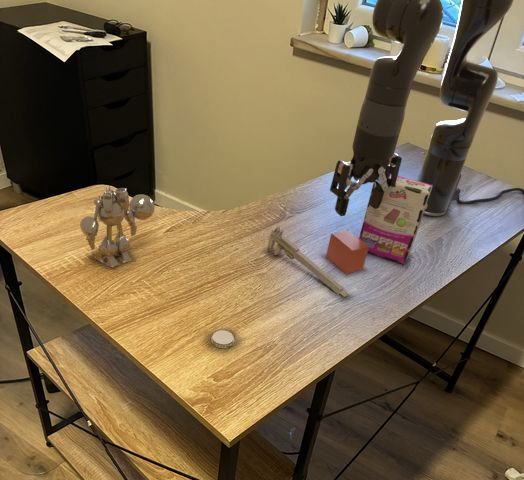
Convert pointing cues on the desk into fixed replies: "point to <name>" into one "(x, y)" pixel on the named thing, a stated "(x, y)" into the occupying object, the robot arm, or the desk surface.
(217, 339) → the ridged bottle cap
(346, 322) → the desk surface
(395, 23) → the robot arm
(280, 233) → the caliper
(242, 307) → the desk surface
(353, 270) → the block
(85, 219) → the robot toy
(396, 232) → the candy bar box
